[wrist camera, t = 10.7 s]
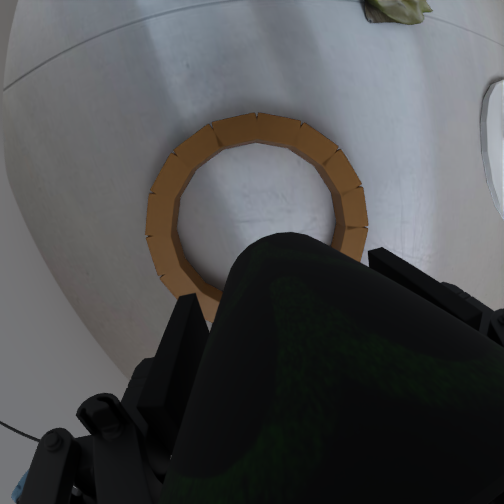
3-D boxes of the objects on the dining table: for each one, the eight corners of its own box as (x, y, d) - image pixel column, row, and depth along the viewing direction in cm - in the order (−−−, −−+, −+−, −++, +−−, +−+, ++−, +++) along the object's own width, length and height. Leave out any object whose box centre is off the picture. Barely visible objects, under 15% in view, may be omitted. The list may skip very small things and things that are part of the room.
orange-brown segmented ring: (189, 334, 31) (185, 348, 29) (132, 151, 25) (122, 150, 23) (365, 291, 31) (374, 302, 28) (334, 105, 25) (344, 99, 22)
